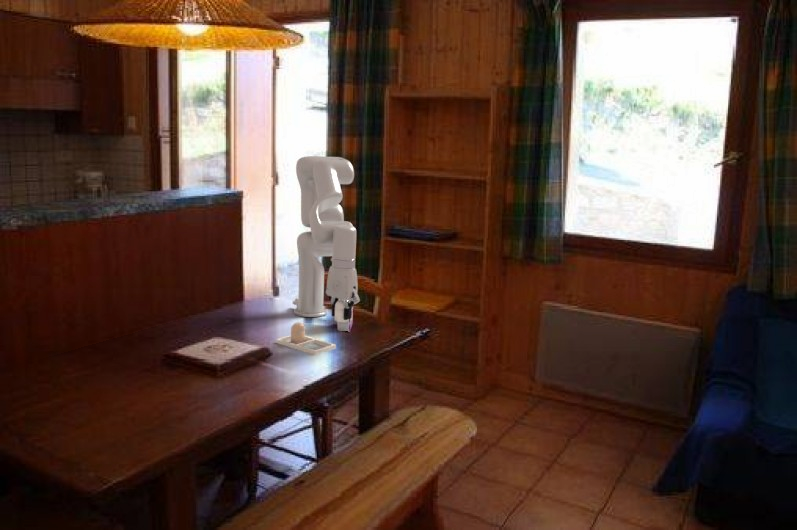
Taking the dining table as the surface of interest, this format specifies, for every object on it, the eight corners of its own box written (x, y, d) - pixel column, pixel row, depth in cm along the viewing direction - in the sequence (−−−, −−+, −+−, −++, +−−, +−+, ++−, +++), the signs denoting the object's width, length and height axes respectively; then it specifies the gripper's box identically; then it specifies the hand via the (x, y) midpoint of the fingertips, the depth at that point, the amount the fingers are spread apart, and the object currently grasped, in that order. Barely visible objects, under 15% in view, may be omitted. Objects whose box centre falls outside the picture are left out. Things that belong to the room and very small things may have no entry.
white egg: (331, 319, 237) (332, 299, 236) (340, 317, 241) (341, 297, 239) (341, 322, 234) (342, 302, 233) (351, 320, 238) (352, 299, 236)
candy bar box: (339, 323, 264) (340, 279, 261) (352, 323, 264) (354, 280, 261) (335, 331, 253) (337, 286, 250) (350, 332, 253) (351, 287, 250)
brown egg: (287, 343, 235) (288, 322, 234) (295, 340, 239) (296, 320, 238) (299, 345, 233) (300, 325, 232) (307, 342, 238) (308, 322, 237)
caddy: (276, 345, 235) (276, 339, 235) (297, 339, 243) (297, 333, 243) (314, 357, 225) (315, 351, 225) (335, 350, 232) (335, 344, 232)
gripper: (316, 260, 235) (315, 314, 239) (355, 270, 225) (353, 325, 229) (332, 257, 241) (330, 309, 245) (370, 266, 231) (368, 320, 235)
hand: (341, 316), depth 237 cm, fingers closed on white egg, 4 cm apart
